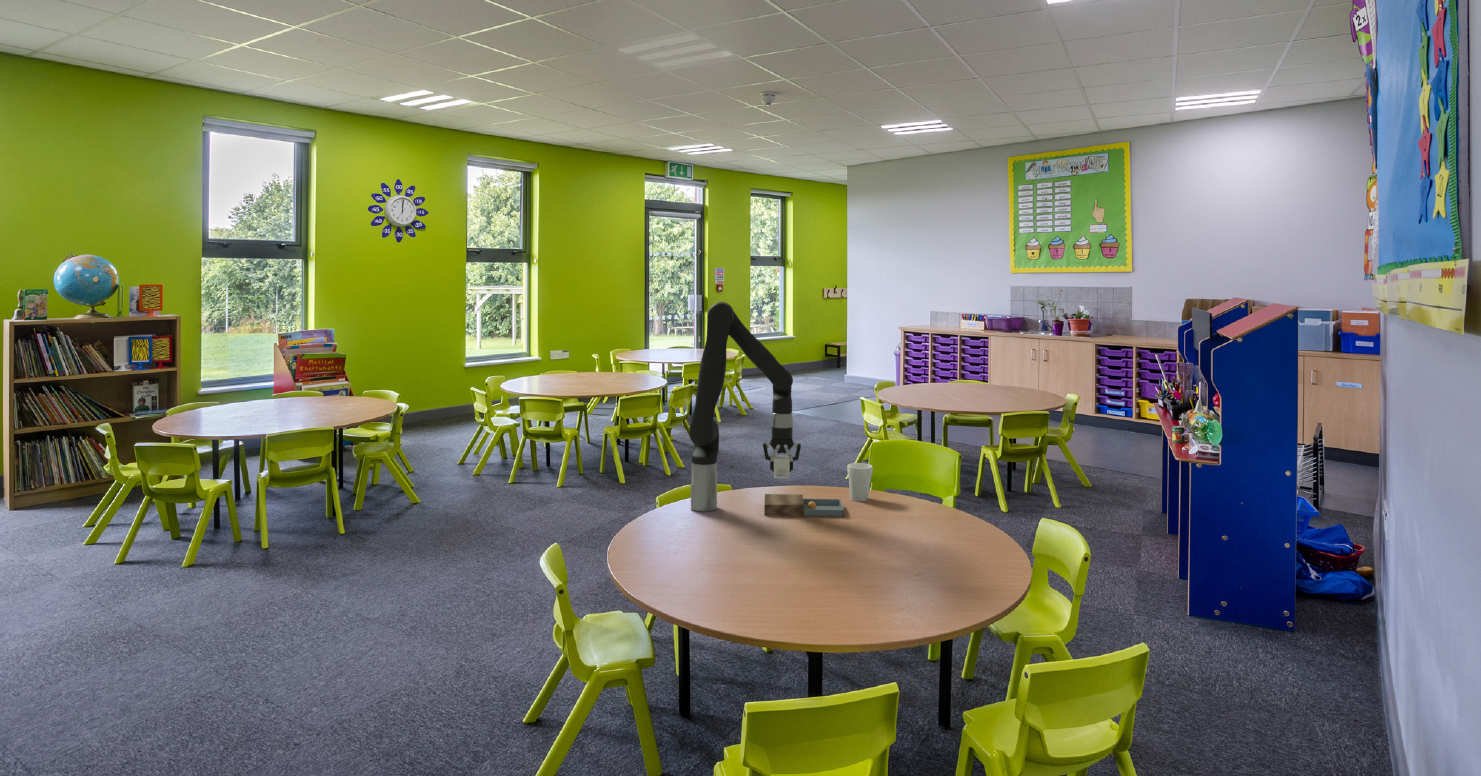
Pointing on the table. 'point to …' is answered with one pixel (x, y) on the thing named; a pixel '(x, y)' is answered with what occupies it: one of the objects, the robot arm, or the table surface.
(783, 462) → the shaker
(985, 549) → the table surface
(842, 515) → the tray
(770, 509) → the platform
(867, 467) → the foam cup
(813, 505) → the ball
